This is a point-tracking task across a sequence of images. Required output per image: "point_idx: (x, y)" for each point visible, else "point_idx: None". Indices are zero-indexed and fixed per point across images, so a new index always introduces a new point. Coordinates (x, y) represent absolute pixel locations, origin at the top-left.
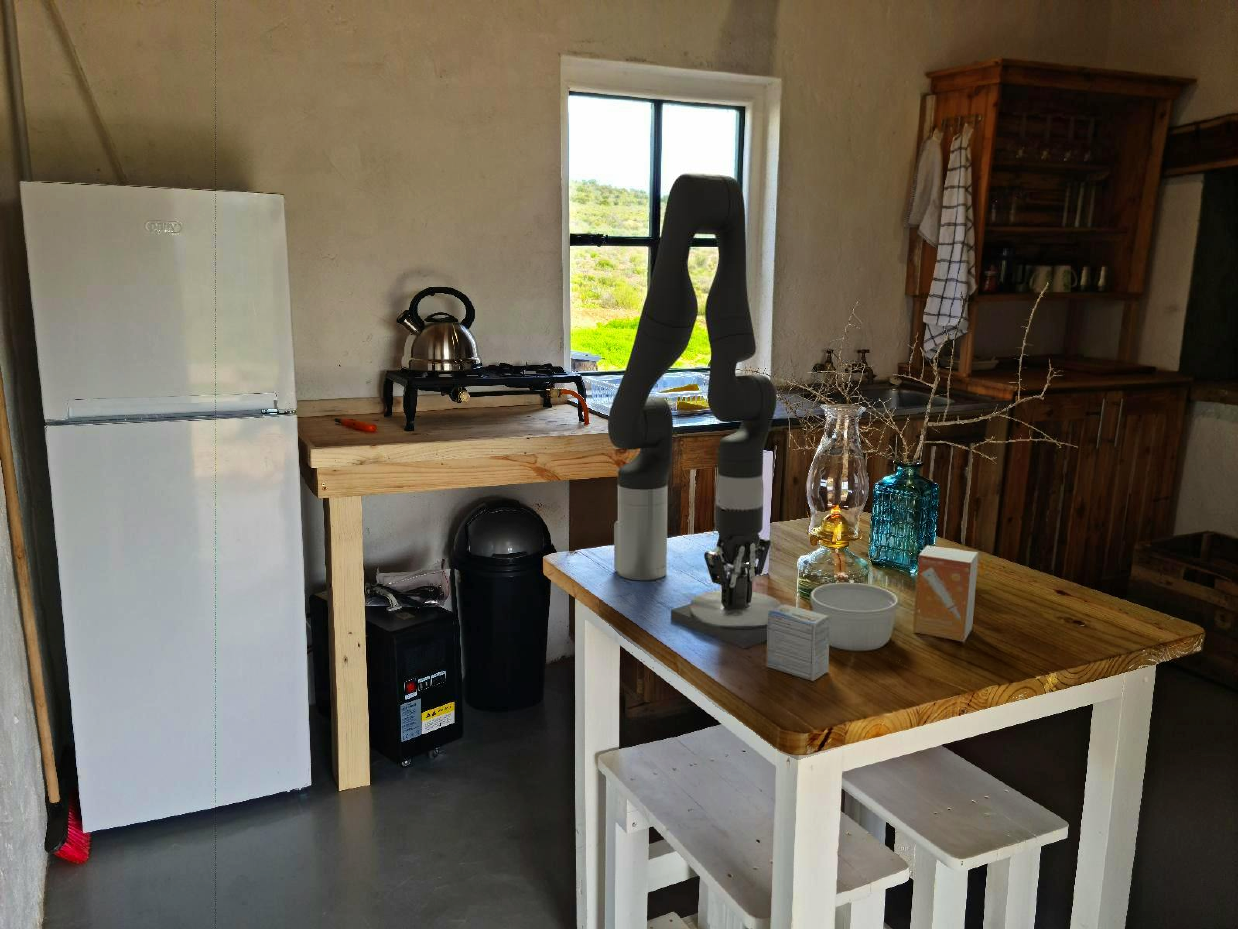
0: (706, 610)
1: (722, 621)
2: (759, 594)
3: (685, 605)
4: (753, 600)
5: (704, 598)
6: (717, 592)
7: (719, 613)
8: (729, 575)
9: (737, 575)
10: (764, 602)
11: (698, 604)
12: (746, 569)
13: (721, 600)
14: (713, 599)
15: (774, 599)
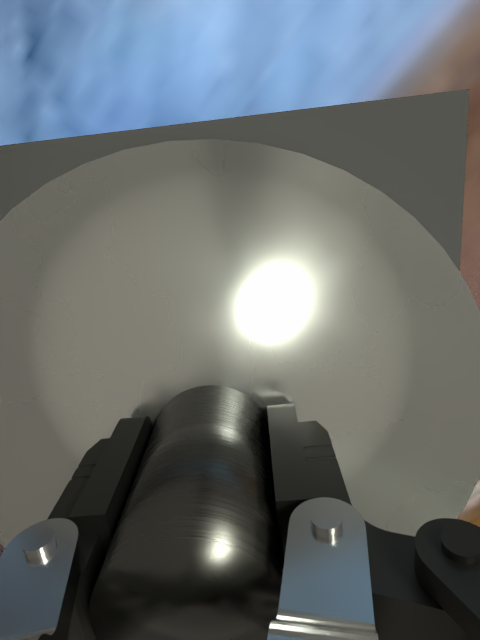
0: (4, 404)
1: (4, 544)
2: (469, 384)
3: (23, 147)
4: (354, 434)
5: (115, 232)
6: (277, 186)
7: (46, 474)
8: (128, 577)
9: (199, 613)
10: (379, 487)
11: (13, 300)
12: (375, 600)
13: (83, 459)
14: (156, 285)
15: (463, 485)
